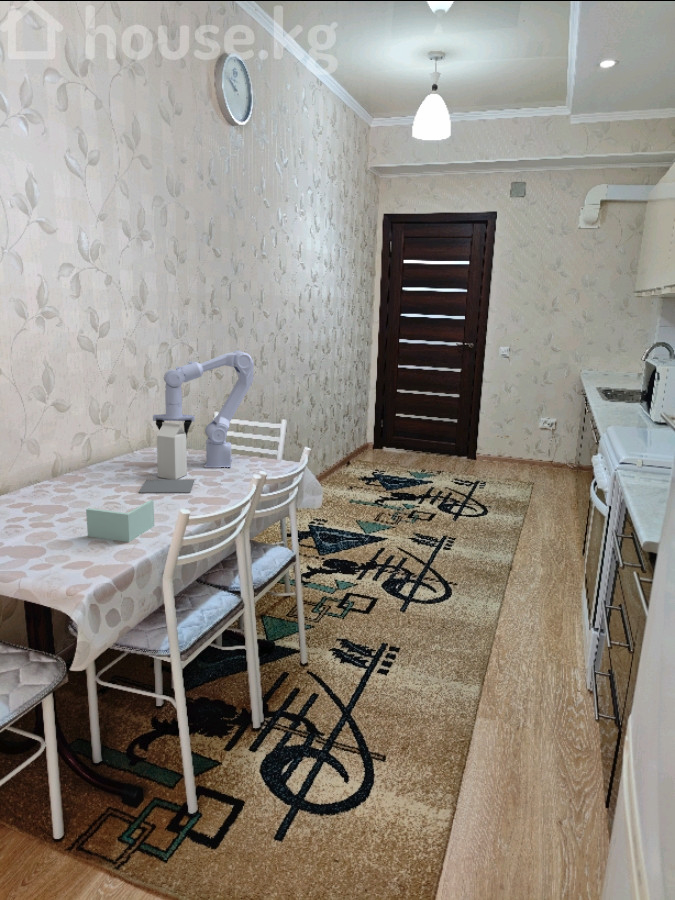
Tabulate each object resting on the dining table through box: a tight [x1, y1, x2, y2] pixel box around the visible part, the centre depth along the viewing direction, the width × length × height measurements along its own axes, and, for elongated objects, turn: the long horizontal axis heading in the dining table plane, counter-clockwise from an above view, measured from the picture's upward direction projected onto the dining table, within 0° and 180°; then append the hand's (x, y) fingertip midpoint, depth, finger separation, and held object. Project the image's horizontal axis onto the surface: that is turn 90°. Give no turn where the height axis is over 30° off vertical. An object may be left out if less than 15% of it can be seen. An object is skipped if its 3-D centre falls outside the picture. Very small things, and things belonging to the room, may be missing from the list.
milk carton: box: [156, 421, 188, 479], centre depth 205 cm, size 7×7×19 cm
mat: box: [137, 478, 195, 494], centre depth 195 cm, size 16×14×1 cm
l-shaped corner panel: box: [85, 499, 155, 543], centre depth 156 cm, size 12×12×8 cm
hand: (174, 440), depth 215 cm, fingers open, 7 cm apart
